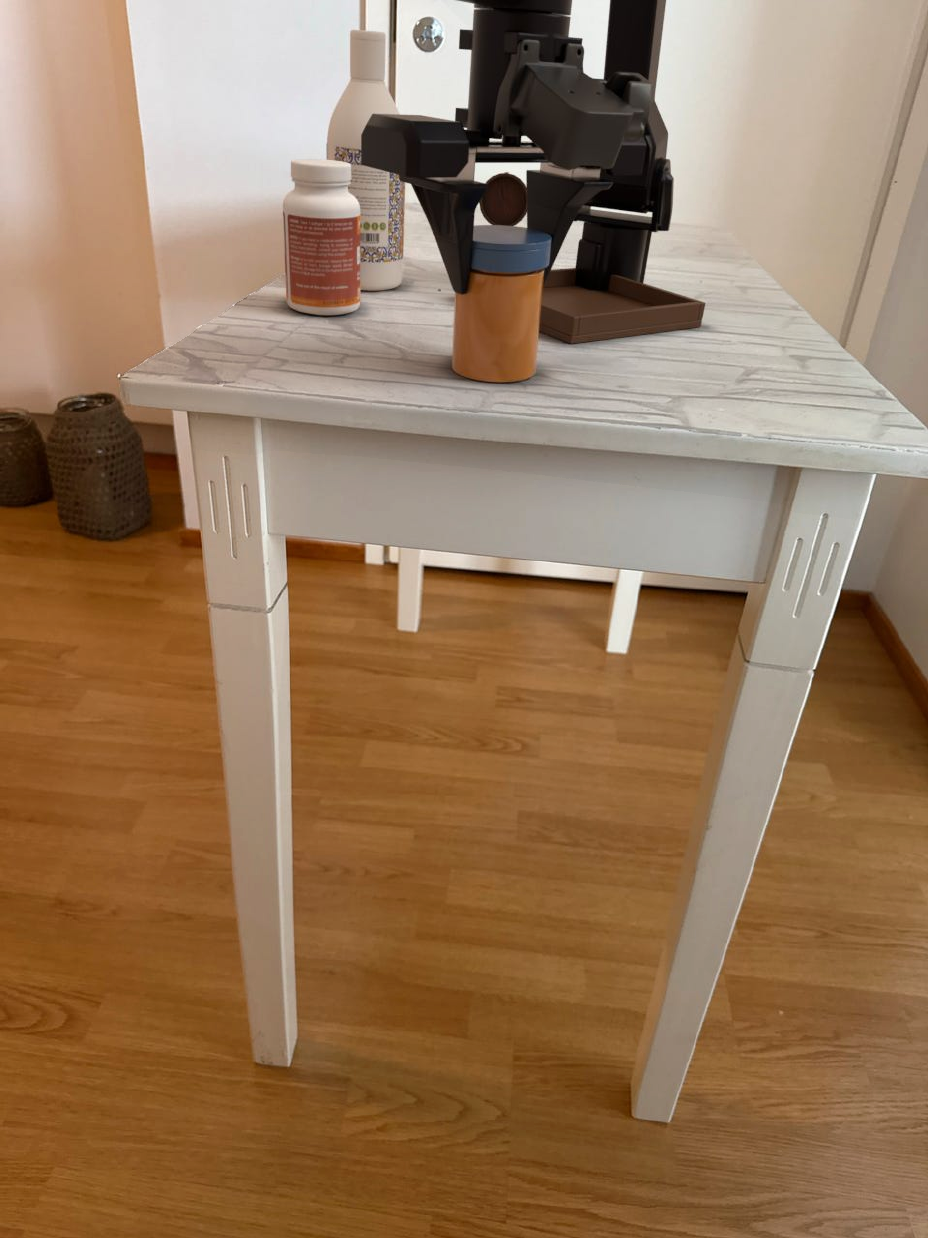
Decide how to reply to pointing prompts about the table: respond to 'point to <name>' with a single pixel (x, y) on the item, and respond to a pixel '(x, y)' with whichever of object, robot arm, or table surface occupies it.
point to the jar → (498, 326)
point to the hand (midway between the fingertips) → (499, 289)
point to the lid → (509, 249)
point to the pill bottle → (322, 239)
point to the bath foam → (369, 185)
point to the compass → (504, 200)
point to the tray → (612, 309)
